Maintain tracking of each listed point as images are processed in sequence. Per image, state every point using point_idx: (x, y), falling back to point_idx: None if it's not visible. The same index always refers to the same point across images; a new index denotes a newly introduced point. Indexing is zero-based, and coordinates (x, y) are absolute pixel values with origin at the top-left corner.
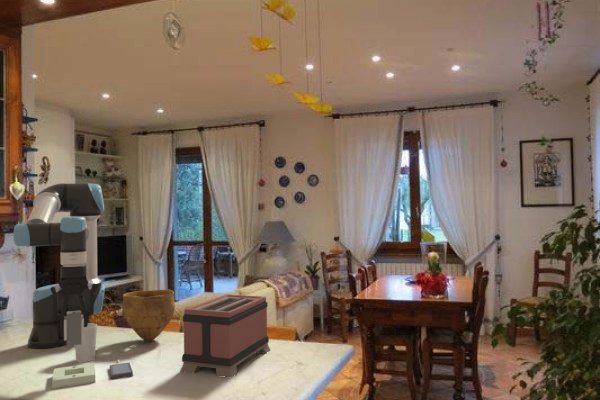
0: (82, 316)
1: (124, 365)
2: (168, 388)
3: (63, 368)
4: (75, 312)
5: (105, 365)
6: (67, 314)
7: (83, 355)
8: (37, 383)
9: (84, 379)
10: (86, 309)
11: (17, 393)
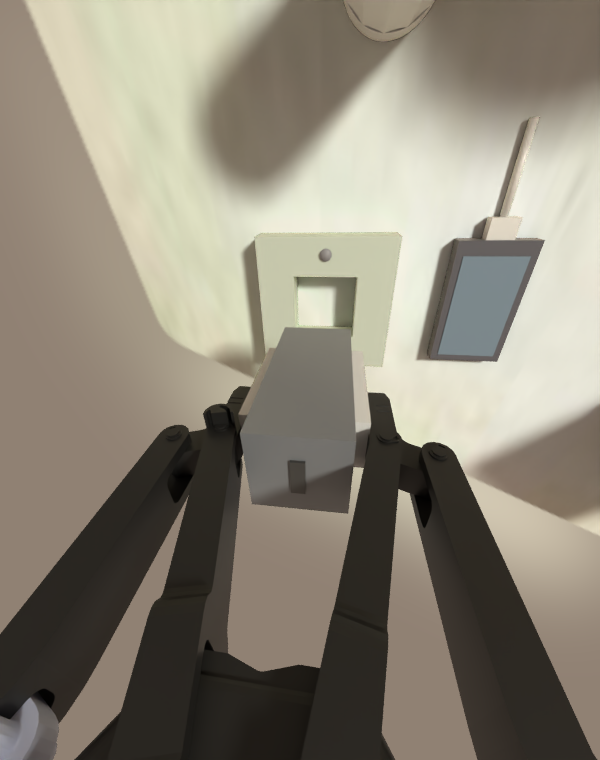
0: (361, 426)
1: (506, 278)
2: (521, 468)
3: (287, 252)
4: (309, 490)
5: (454, 174)
6: (258, 500)
7: (378, 24)
8: (222, 287)
9: None
10: (399, 468)
11: (192, 344)
